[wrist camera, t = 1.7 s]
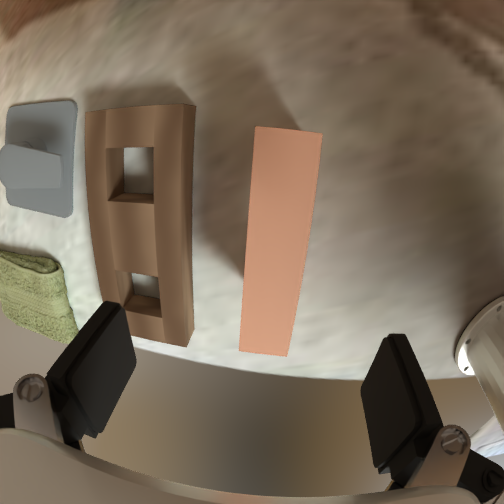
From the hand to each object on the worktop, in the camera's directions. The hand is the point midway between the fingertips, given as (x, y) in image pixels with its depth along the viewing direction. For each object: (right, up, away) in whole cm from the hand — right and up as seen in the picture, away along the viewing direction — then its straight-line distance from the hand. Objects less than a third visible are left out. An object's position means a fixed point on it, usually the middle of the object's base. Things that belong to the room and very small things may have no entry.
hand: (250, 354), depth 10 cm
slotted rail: (-10, +6, +16) cm, 20 cm away
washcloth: (-31, -2, +23) cm, 39 cm away
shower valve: (-22, +14, +15) cm, 30 cm away
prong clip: (+2, +6, +15) cm, 16 cm away
